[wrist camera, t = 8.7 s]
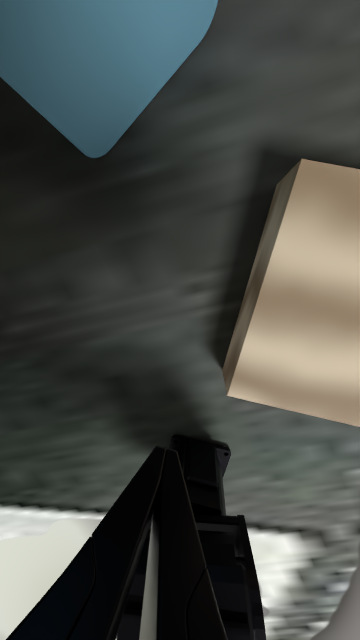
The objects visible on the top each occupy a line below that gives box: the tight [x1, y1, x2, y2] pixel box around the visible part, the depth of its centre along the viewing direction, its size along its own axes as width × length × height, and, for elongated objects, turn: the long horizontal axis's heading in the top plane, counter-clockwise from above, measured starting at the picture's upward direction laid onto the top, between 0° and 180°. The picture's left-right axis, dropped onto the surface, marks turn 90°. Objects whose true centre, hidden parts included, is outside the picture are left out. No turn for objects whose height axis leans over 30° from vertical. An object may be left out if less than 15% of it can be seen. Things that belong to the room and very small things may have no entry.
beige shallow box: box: [222, 159, 360, 427], centre depth 15 cm, size 16×11×4 cm
